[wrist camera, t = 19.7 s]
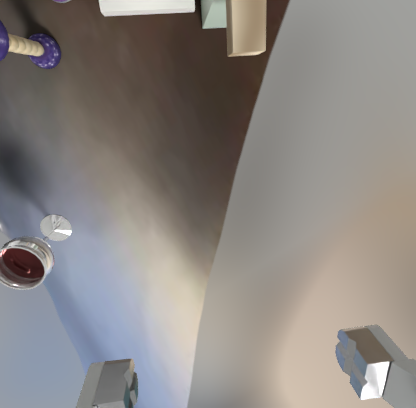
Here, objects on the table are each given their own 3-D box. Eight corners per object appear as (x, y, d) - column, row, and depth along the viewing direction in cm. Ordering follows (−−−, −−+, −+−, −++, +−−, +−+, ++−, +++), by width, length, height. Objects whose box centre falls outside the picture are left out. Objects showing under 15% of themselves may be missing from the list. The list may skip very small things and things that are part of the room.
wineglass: (79, 214, 47) (48, 251, 36) (74, 248, 49) (44, 293, 38) (35, 205, 46) (-10, 241, 34) (33, 241, 48) (-11, 286, 37)
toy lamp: (63, 74, 39) (-11, 60, 24) (28, 71, 39) (-72, 56, 23) (59, 35, 37) (-24, -8, 22) (21, 32, 37) (-90, -14, 21)
